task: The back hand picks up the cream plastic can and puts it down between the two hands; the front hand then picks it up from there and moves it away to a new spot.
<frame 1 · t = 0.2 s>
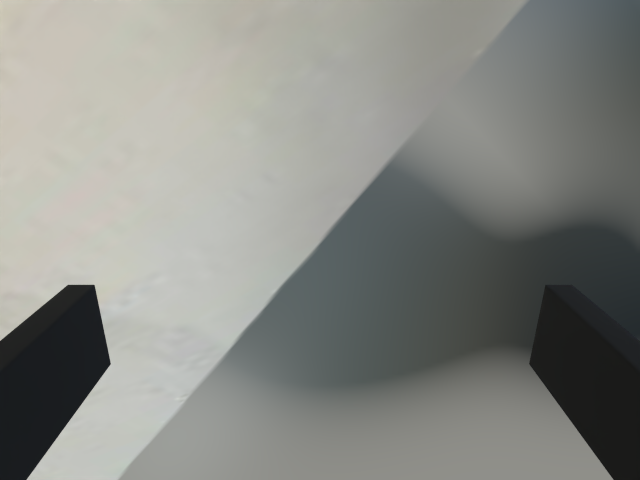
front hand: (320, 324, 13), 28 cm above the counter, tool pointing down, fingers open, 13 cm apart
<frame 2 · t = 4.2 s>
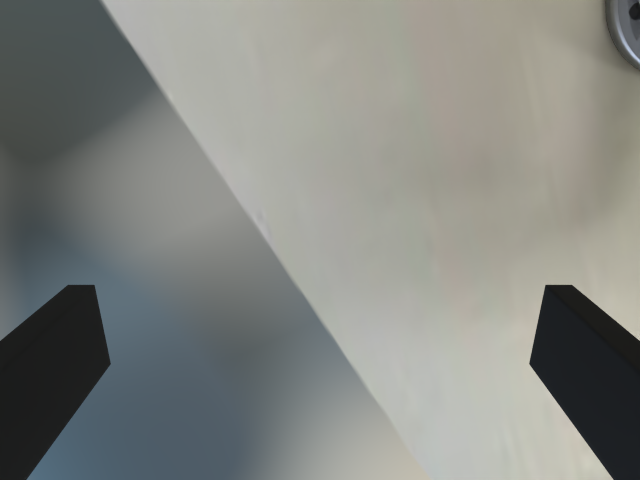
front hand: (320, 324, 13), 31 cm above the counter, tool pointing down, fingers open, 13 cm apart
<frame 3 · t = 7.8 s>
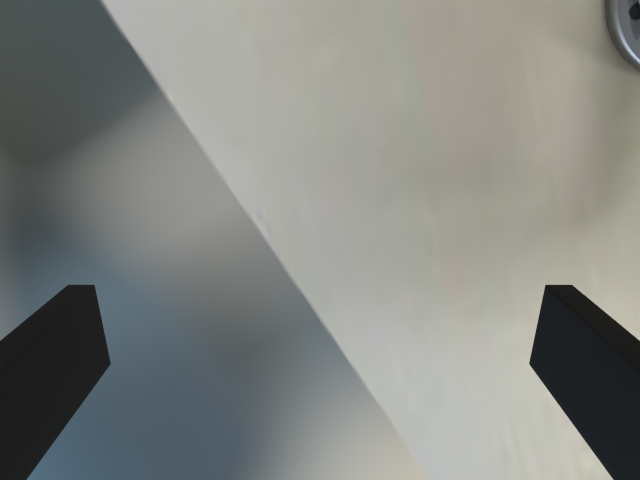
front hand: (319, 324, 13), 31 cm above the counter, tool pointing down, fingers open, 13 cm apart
when the back hand's fingers open (5 cm above the counter, at t = 11.9 s): can drops 2 cm, on the counter.
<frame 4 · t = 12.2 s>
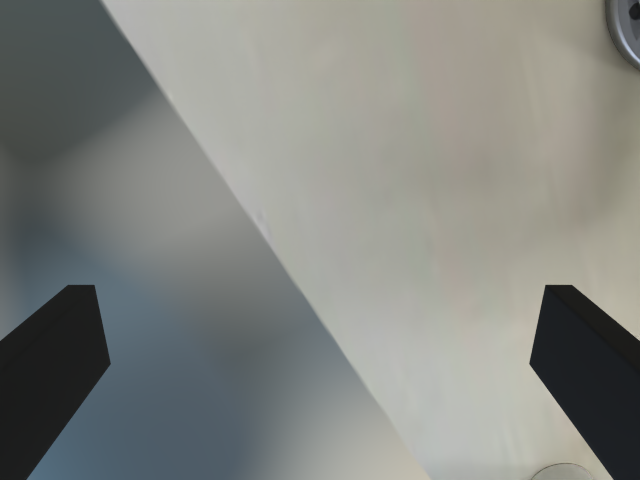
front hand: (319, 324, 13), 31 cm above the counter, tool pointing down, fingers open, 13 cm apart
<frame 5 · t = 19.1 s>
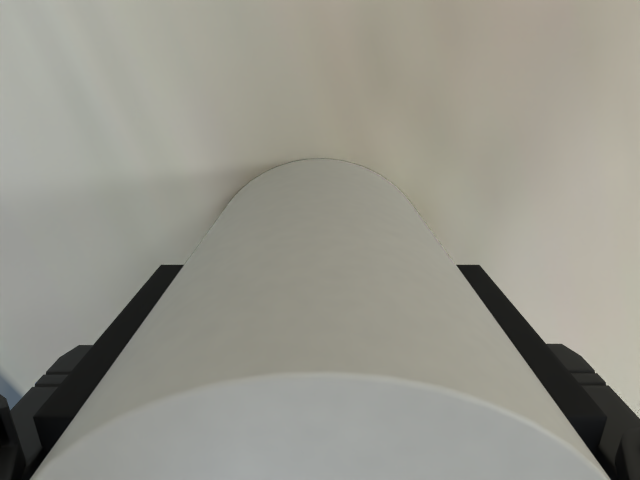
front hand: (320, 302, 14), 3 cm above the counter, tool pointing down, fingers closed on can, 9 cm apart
can: (320, 267, 17), on the counter, touching front hand
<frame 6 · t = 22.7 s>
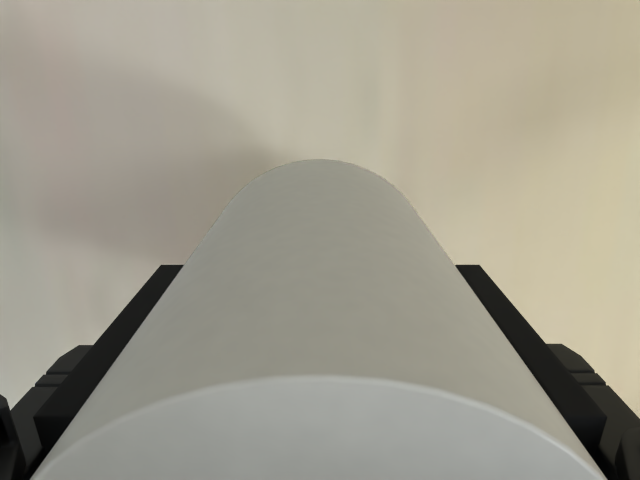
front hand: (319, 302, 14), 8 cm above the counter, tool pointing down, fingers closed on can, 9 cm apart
can: (319, 268, 17), point 5 cm above the counter, touching front hand
when the front hand's fingers open (5 cm above the counter, at t = 26.7 s): can drops 2 cm, on the counter.
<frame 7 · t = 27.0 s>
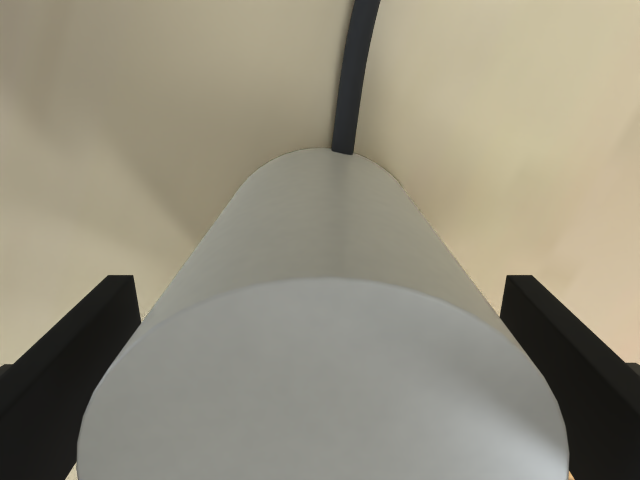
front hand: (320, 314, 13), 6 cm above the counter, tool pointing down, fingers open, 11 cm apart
can: (321, 246, 19), on the counter
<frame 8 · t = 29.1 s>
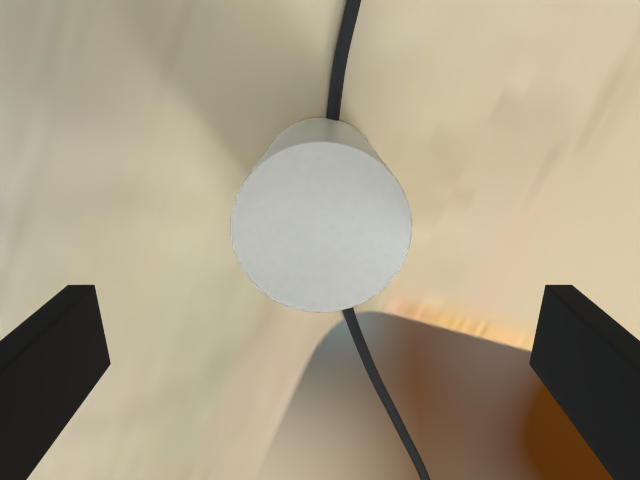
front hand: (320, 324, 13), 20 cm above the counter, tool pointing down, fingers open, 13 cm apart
can: (320, 177, 31), on the counter
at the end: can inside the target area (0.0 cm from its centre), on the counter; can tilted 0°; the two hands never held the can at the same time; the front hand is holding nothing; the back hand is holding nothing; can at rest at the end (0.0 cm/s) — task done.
